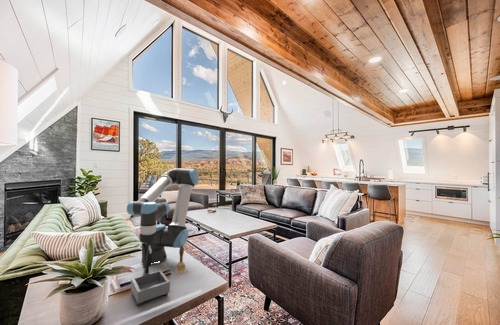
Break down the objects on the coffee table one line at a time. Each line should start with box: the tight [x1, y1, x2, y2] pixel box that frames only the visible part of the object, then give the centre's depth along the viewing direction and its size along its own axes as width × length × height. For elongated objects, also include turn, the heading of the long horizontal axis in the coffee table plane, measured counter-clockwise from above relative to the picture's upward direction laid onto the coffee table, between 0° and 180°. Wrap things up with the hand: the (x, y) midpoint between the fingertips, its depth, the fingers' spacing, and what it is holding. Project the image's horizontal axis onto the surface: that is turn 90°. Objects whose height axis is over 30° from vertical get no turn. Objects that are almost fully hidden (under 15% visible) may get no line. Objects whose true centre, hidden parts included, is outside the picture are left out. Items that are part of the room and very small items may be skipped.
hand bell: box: [174, 245, 189, 274], centre depth 126 cm, size 8×8×16 cm
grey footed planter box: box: [130, 269, 171, 306], centre depth 102 cm, size 14×14×7 cm
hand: (145, 278), depth 107 cm, fingers closed
